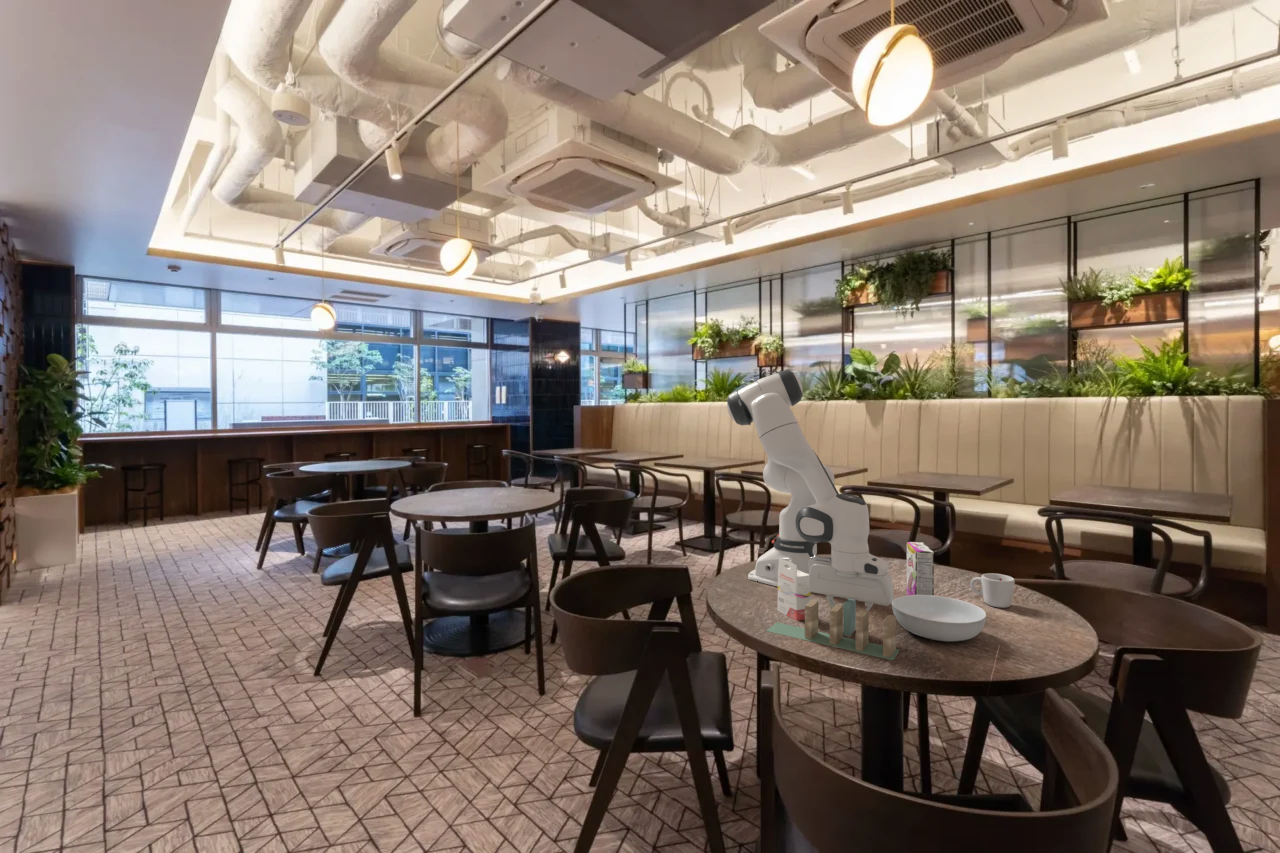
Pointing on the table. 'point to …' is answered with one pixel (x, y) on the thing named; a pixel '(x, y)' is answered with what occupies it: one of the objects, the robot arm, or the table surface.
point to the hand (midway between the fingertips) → (849, 615)
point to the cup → (995, 589)
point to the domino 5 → (889, 635)
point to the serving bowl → (939, 617)
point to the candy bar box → (920, 569)
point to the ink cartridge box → (792, 590)
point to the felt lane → (825, 639)
